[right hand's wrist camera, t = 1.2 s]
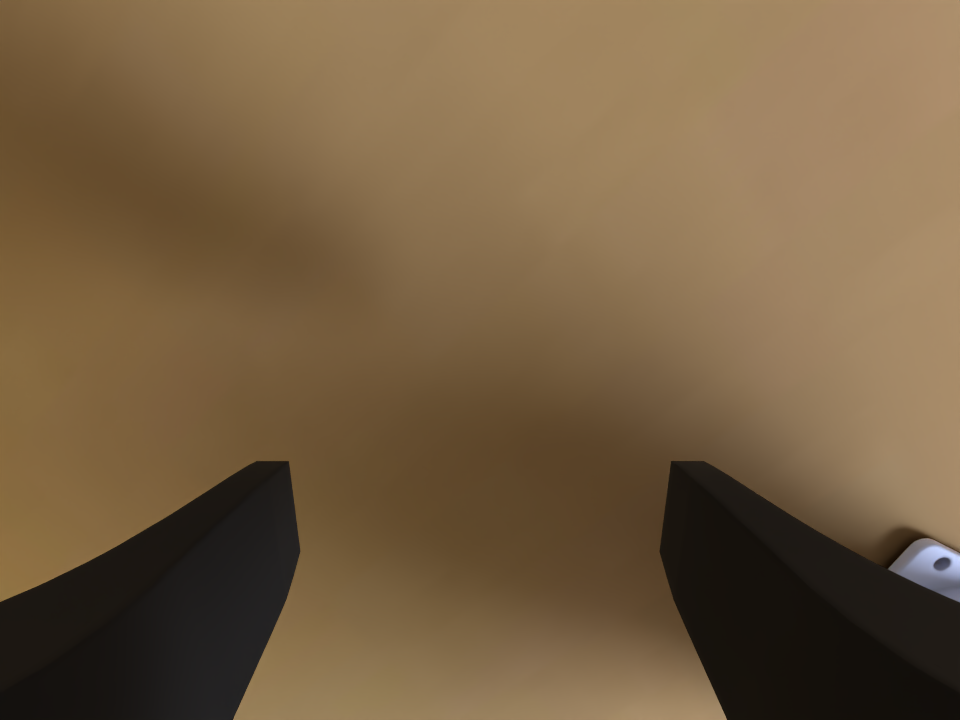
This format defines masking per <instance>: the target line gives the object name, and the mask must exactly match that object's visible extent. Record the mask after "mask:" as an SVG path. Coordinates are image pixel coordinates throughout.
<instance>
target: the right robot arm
mask: <svg viewBox="0 0 960 720" xmlns="http://www.w3.org/2000/svg"><path fill="white" fill-rule="evenodd" d="M299 554H300V545H299V537H298V529H297V522H296V514H295V506H294V498H293V490H292V482H291V475H290V467H289V461H256V462H254V463H252V464H250V465H248V466H247V467H245V468H243V469H242V470H240V471H238V472H237V473H235V474H233V475H232V476H230V477H229V478H227V479H226V480H224V481H222V482H221V483H219V484H218V485H216V486H215V487H213V488H212V489H210V490H208V491H207V492H205V493H204V494H202V495H201V496H199V497H198V498H196V499H194V500H193V501H191V502H190V503H188V504H187V505H185V506H183V507H182V508H180V509H179V510H177V511H176V512H174V513H173V514H171V515H169V516H168V517H166V518H164V519H163V520H161V521H159V522H157V523H156V524H154V525H152V526H151V527H149V528H147V529H146V530H144V531H142V532H140V533H139V534H137V535H135V536H134V537H132V538H130V539H129V540H127V541H125V542H123V543H122V544H120V545H118V546H117V547H115V548H113V549H111V550H109V551H107V552H106V553H104V554H102V555H100V556H98V557H96V558H94V559H92V560H90V561H89V562H87V563H85V564H83V565H81V566H79V567H76V568H74V569H72V570H70V571H68V572H66V573H64V574H62V575H60V576H58V577H56V578H54V579H52V580H50V581H48V582H46V583H43V584H41V585H39V586H37V587H35V588H32V589H30V590H28V591H25V592H23V593H21V594H18V595H16V596H13V597H11V598H9V599H6V600H4V601H2V602H0V720H233V718H234V716H235V713H236V711H237V709H238V707H239V705H240V702H241V700H242V698H243V696H244V694H245V691H246V689H247V687H248V685H249V682H250V680H251V678H252V676H253V674H254V671H255V669H256V667H257V665H258V662H259V660H260V658H261V656H262V654H263V651H264V649H265V647H266V645H267V642H268V640H269V638H270V636H271V633H272V631H273V629H274V627H275V624H276V622H277V620H278V618H279V615H280V613H281V611H282V608H283V606H284V604H285V601H286V599H287V595H288V592H289V589H290V586H291V583H292V579H293V576H294V572H295V569H296V565H297V562H298V558H299ZM660 554H661V558H662V562H663V565H664V569H665V572H666V576H667V579H668V583H669V586H670V589H671V592H672V595H673V599H674V601H675V604H676V606H677V608H678V611H679V613H680V615H681V618H682V620H683V622H684V624H685V627H686V629H687V631H688V633H689V636H690V638H691V640H692V642H693V645H694V647H695V649H696V651H697V654H698V656H699V658H700V660H701V662H702V665H703V667H704V669H705V671H706V674H707V676H708V678H709V680H710V682H711V685H712V687H713V689H714V691H715V694H716V696H717V698H718V700H719V702H720V705H721V707H722V709H723V711H724V713H725V716H726V718H727V720H960V553H959V552H957V551H955V550H953V549H951V548H949V547H947V546H945V545H943V544H941V543H939V542H937V541H935V540H933V539H929V538H924V539H919V540H917V541H915V542H913V543H912V544H911V545H910V546H909V547H908V548H907V549H906V550H905V551H904V552H903V553H902V554H901V555H900V556H899V557H898V559H897V560H896V561H895V562H894V563H893V564H892V565H891V566H890V567H889V568H888V569H886V568H884V567H882V566H880V565H878V564H876V563H874V562H872V561H870V560H868V559H866V558H864V557H862V556H861V555H859V554H857V553H855V552H853V551H851V550H849V549H848V548H846V547H844V546H842V545H841V544H839V543H837V542H835V541H833V540H832V539H830V538H828V537H826V536H825V535H823V534H821V533H819V532H818V531H816V530H814V529H813V528H811V527H809V526H808V525H806V524H804V523H803V522H801V521H799V520H798V519H796V518H794V517H793V516H791V515H790V514H788V513H786V512H785V511H783V510H782V509H780V508H778V507H777V506H775V505H774V504H772V503H771V502H769V501H767V500H766V499H764V498H763V497H761V496H760V495H758V494H757V493H755V492H753V491H752V490H750V489H749V488H747V487H746V486H744V485H743V484H741V483H740V482H738V481H736V480H735V479H733V478H732V477H730V476H729V475H727V474H725V473H724V472H722V471H720V470H719V469H717V468H715V467H714V466H712V465H710V464H708V463H706V462H704V461H671V467H670V475H669V482H668V490H667V498H666V506H665V514H664V522H663V529H662V537H661V545H660ZM939 558H940V559H939ZM938 559H939V560H938ZM936 560H937V561H936ZM935 561H936V562H935Z"/></svg>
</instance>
